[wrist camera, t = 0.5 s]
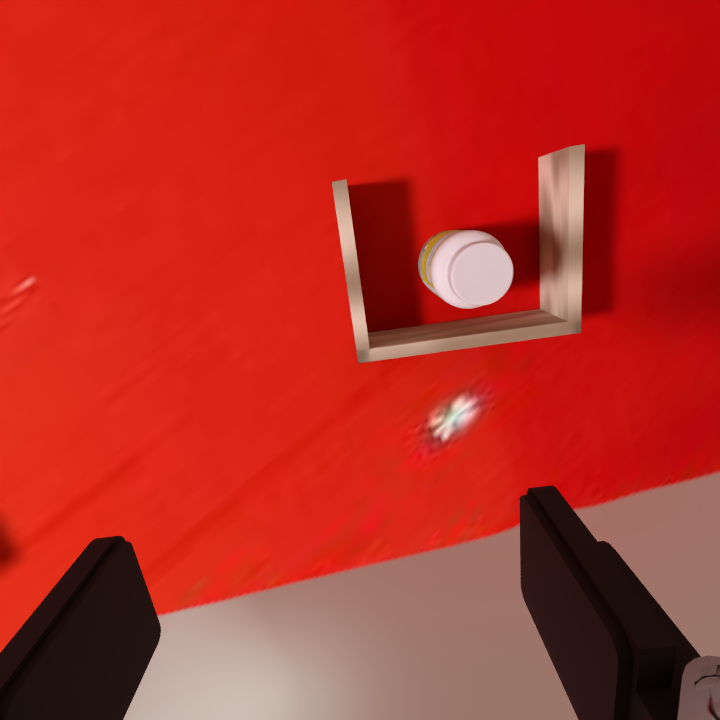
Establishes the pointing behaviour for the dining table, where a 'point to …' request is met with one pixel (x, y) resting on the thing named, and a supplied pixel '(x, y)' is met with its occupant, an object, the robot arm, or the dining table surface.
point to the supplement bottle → (465, 268)
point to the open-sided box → (554, 317)
